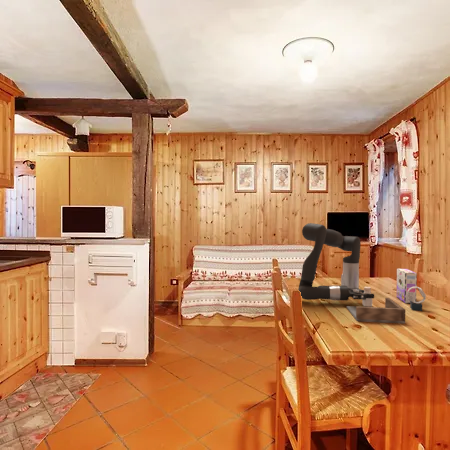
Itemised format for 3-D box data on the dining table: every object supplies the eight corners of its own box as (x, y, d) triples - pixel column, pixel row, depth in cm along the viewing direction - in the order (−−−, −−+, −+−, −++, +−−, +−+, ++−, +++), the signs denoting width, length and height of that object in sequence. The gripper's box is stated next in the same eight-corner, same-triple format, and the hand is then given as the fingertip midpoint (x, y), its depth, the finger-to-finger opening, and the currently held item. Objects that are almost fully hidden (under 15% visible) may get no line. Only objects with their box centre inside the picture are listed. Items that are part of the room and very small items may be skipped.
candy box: (416, 304, 166) (417, 272, 165) (404, 303, 167) (405, 272, 167) (407, 297, 179) (407, 268, 179) (395, 296, 181) (396, 268, 180)
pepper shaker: (361, 304, 165) (362, 286, 165) (369, 304, 165) (370, 286, 164) (364, 306, 161) (364, 288, 161) (372, 307, 161) (372, 288, 160)
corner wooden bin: (356, 321, 139) (357, 307, 139) (346, 308, 159) (346, 296, 158) (405, 323, 136) (405, 309, 136) (388, 309, 156) (388, 297, 155)
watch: (426, 311, 153) (427, 288, 153) (407, 309, 156) (408, 287, 156) (424, 308, 158) (425, 286, 158) (406, 306, 161) (406, 285, 161)
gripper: (341, 288, 158) (376, 290, 155) (335, 282, 172) (367, 283, 169) (340, 303, 158) (376, 305, 155) (335, 296, 172) (367, 297, 169)
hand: (371, 294), depth 162 cm, fingers open, 7 cm apart
